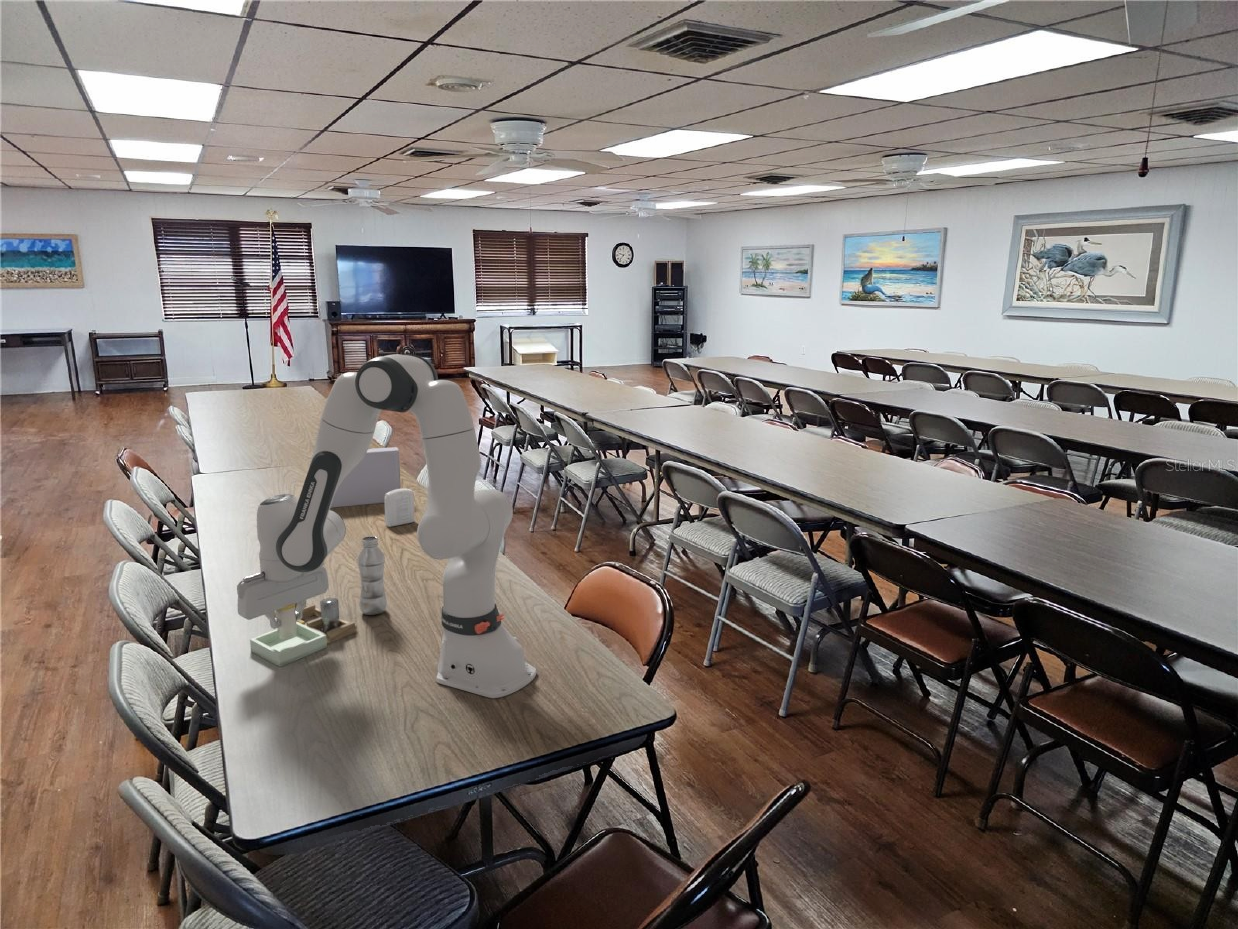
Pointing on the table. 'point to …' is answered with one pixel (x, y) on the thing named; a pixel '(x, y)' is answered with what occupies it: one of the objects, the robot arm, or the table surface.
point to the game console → (370, 479)
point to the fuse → (287, 622)
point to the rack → (316, 624)
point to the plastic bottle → (371, 577)
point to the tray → (288, 645)
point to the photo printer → (399, 507)
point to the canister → (329, 614)
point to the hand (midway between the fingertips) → (286, 623)
